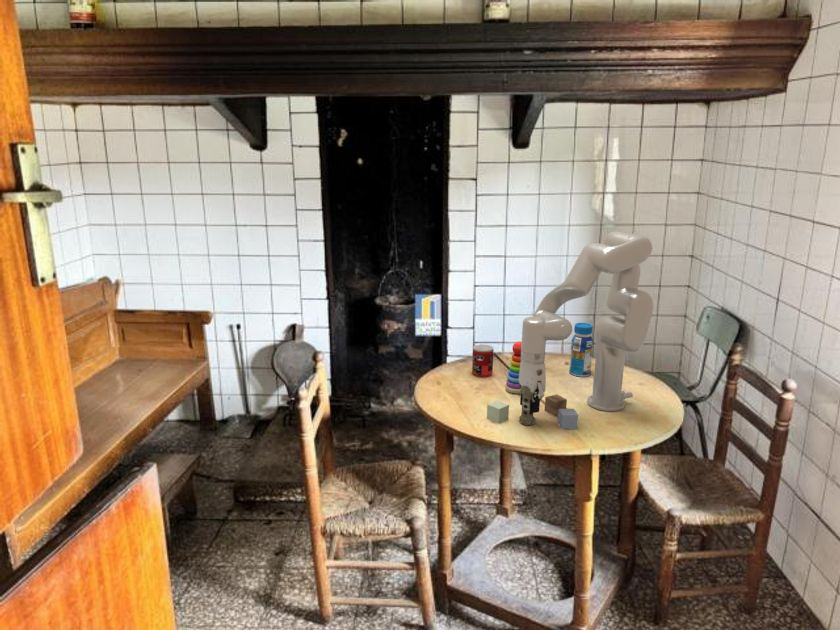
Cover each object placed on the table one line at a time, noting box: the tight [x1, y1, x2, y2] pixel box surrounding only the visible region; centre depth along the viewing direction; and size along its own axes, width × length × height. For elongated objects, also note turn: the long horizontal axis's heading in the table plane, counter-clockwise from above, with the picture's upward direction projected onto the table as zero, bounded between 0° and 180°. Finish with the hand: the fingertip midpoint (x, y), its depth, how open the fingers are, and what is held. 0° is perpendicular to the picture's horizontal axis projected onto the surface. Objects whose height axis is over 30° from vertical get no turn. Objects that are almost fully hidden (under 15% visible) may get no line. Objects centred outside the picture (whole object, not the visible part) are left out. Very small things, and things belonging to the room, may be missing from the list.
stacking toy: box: [504, 341, 522, 395], centre depth 231 cm, size 8×8×19 cm
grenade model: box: [518, 382, 538, 426], centre depth 206 cm, size 6×7×15 cm
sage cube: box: [486, 400, 510, 424], centre depth 209 cm, size 5×5×5 cm
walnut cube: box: [544, 394, 568, 416], centre depth 215 cm, size 5×5×5 cm
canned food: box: [471, 344, 494, 378], centre depth 248 cm, size 8×8×11 cm
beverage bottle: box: [568, 322, 594, 378], centre depth 248 cm, size 8×8×20 cm
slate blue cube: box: [557, 408, 579, 430], centre depth 204 cm, size 5×5×5 cm
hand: (529, 407), depth 207 cm, fingers closed on grenade model, 5 cm apart
